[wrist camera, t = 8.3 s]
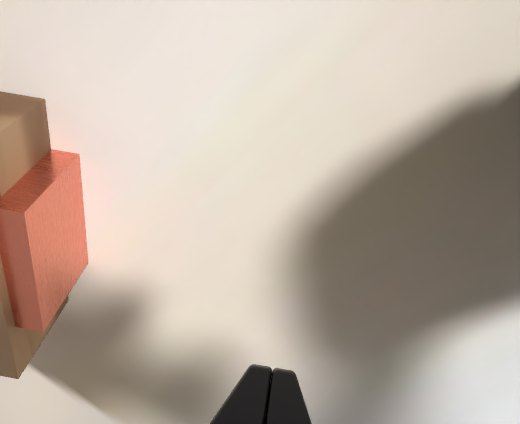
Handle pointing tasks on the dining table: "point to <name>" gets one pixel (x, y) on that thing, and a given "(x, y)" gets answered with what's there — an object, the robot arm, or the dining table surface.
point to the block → (3, 178)
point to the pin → (43, 238)
